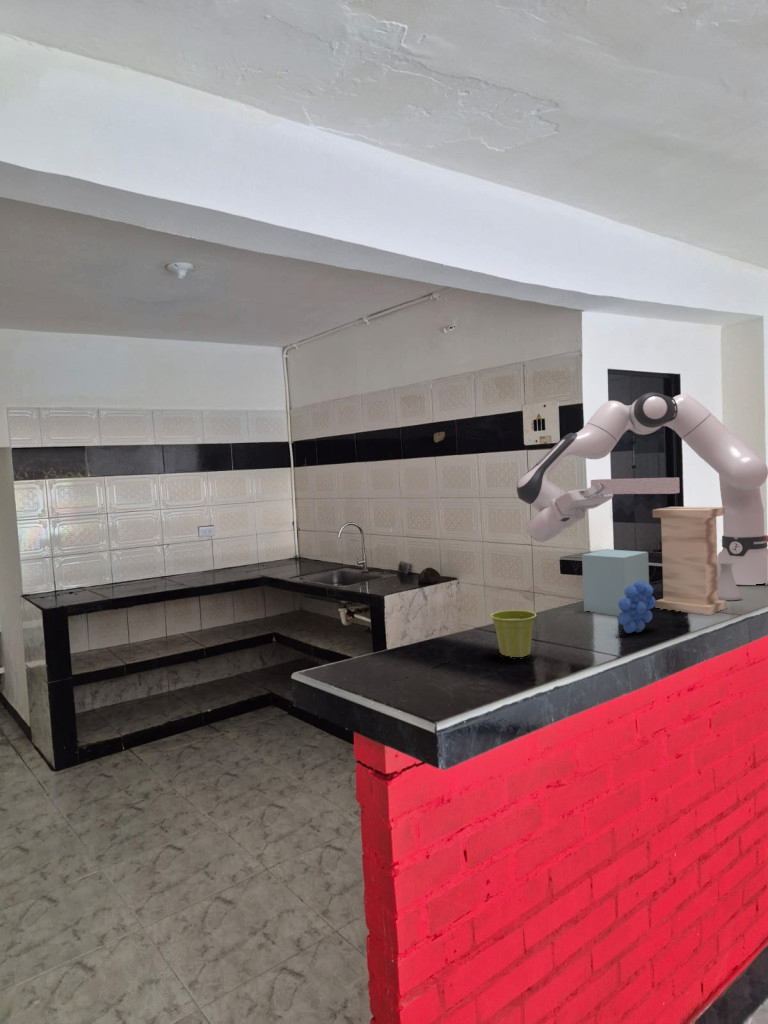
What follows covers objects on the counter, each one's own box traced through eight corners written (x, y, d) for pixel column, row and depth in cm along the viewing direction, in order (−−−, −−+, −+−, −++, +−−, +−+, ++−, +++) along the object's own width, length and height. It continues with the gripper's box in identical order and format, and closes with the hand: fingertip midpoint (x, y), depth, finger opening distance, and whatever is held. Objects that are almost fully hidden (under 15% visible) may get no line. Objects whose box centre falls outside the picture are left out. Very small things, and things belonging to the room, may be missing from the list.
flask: (747, 600, 183) (746, 563, 182) (719, 601, 183) (718, 564, 182) (733, 595, 190) (732, 560, 190) (707, 596, 190) (706, 561, 190)
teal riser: (608, 603, 188) (606, 549, 187) (649, 608, 179) (648, 552, 178) (583, 611, 181) (581, 554, 180) (625, 617, 171) (623, 557, 170)
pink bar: (597, 493, 197) (597, 479, 196) (679, 492, 178) (679, 477, 178) (591, 494, 194) (590, 480, 194) (673, 493, 176) (672, 478, 176)
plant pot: (484, 653, 145) (482, 613, 145) (521, 647, 149) (520, 607, 148) (507, 664, 137) (505, 621, 136) (547, 657, 140) (545, 615, 140)
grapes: (639, 625, 163) (637, 575, 162) (663, 630, 157) (662, 578, 156) (605, 633, 157) (603, 581, 156) (629, 638, 151) (627, 585, 150)
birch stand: (673, 602, 186) (671, 506, 184) (726, 608, 175) (724, 507, 173) (655, 608, 179) (652, 509, 177) (709, 615, 169) (706, 510, 167)
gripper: (594, 515, 208) (630, 492, 198) (555, 521, 195) (591, 496, 185) (585, 497, 210) (620, 473, 200) (545, 502, 197) (580, 477, 187)
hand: (606, 484), depth 193 cm, fingers closed on pink bar, 3 cm apart
